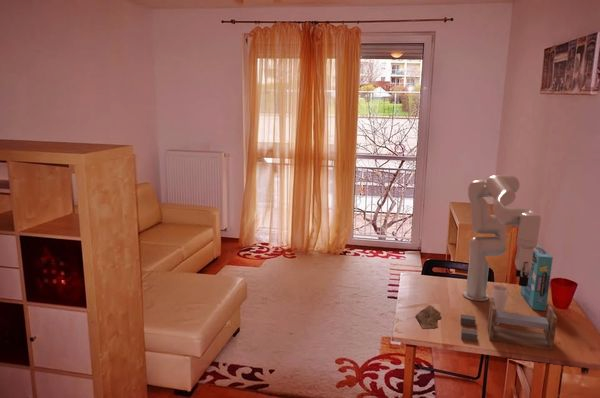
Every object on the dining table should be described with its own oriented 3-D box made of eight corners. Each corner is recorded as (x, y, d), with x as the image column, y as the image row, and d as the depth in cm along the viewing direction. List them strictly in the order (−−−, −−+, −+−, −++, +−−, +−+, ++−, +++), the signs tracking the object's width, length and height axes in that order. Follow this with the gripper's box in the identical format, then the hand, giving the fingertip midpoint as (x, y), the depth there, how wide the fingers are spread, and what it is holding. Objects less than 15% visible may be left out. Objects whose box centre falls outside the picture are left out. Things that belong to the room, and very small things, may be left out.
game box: (546, 311, 220) (553, 257, 214) (532, 310, 221) (539, 256, 215) (532, 294, 239) (539, 244, 234) (519, 293, 240) (526, 243, 235)
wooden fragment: (436, 332, 198) (436, 329, 198) (410, 326, 202) (411, 324, 202) (444, 308, 221) (444, 306, 221) (421, 304, 225) (421, 302, 225)
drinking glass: (494, 322, 207) (497, 291, 204) (485, 315, 214) (489, 285, 211) (507, 321, 209) (511, 290, 205) (499, 314, 215) (502, 284, 212)
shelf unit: (487, 327, 202) (490, 297, 200) (546, 336, 196) (551, 305, 193) (489, 340, 191) (493, 309, 188) (552, 350, 184) (557, 318, 181)
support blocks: (460, 320, 209) (461, 314, 208) (474, 322, 207) (475, 316, 206) (461, 339, 192) (462, 332, 191) (476, 341, 190) (477, 335, 189)
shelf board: (545, 323, 192) (546, 317, 191) (548, 329, 186) (548, 324, 186) (493, 315, 198) (494, 310, 197) (495, 322, 192) (495, 316, 192)
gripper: (514, 235, 197) (509, 272, 201) (519, 248, 181) (514, 288, 185) (533, 237, 195) (527, 274, 199) (540, 250, 179) (534, 290, 183)
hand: (521, 281), depth 192 cm, fingers open, 9 cm apart
